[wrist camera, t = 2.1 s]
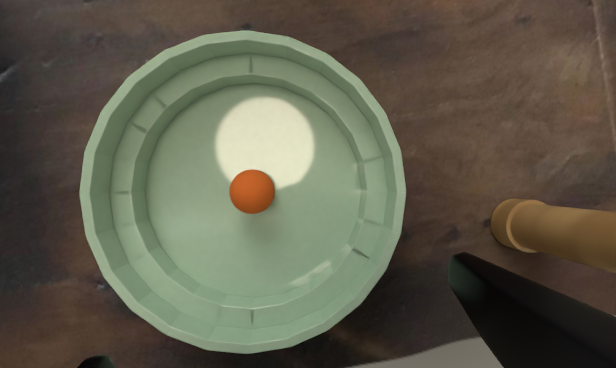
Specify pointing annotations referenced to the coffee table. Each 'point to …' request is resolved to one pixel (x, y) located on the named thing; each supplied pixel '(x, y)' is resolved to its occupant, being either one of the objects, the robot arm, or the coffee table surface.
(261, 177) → the ball
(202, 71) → the bowl
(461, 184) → the coffee table surface
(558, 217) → the tan wooden cylinder
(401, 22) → the coffee table surface
